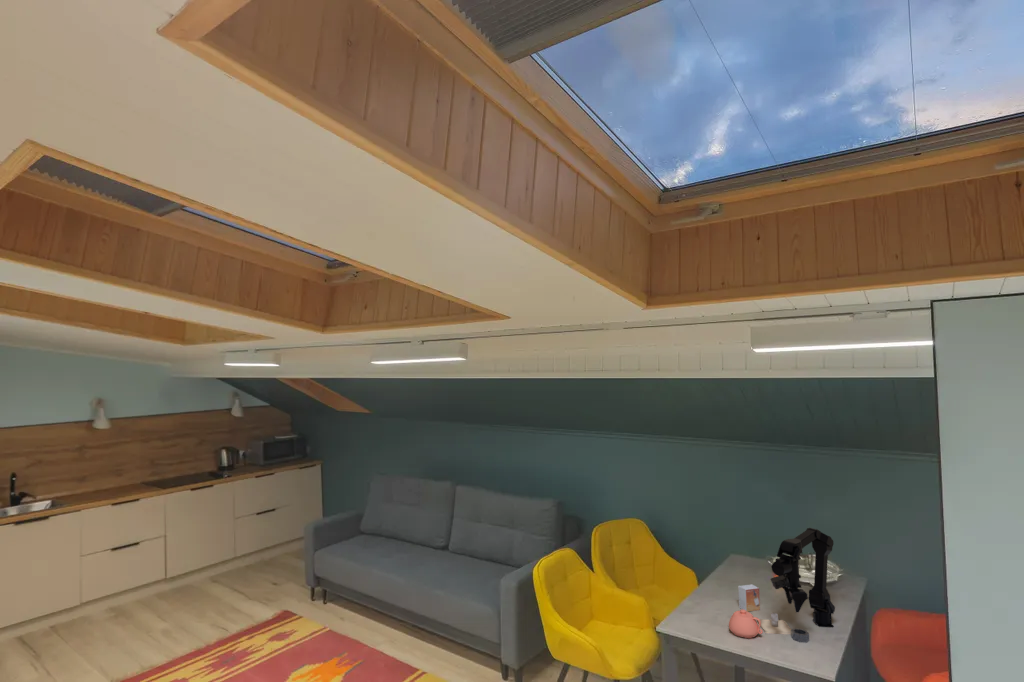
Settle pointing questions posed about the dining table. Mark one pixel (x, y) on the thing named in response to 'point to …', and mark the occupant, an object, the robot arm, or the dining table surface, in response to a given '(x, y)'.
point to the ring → (800, 635)
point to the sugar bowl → (744, 624)
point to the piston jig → (775, 625)
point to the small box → (749, 598)
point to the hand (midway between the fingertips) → (793, 607)
